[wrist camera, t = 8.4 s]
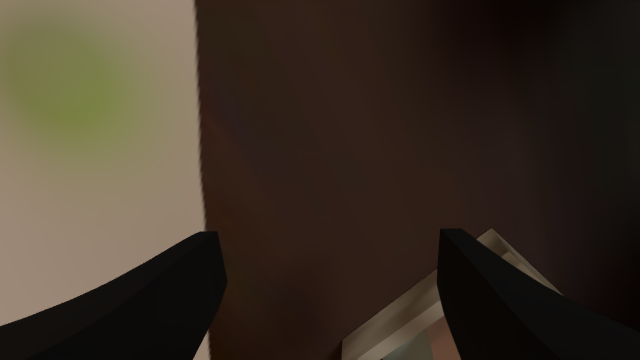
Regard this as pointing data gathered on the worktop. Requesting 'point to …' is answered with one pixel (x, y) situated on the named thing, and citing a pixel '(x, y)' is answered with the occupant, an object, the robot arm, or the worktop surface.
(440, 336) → the terracotta cube
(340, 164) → the worktop surface
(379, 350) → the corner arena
